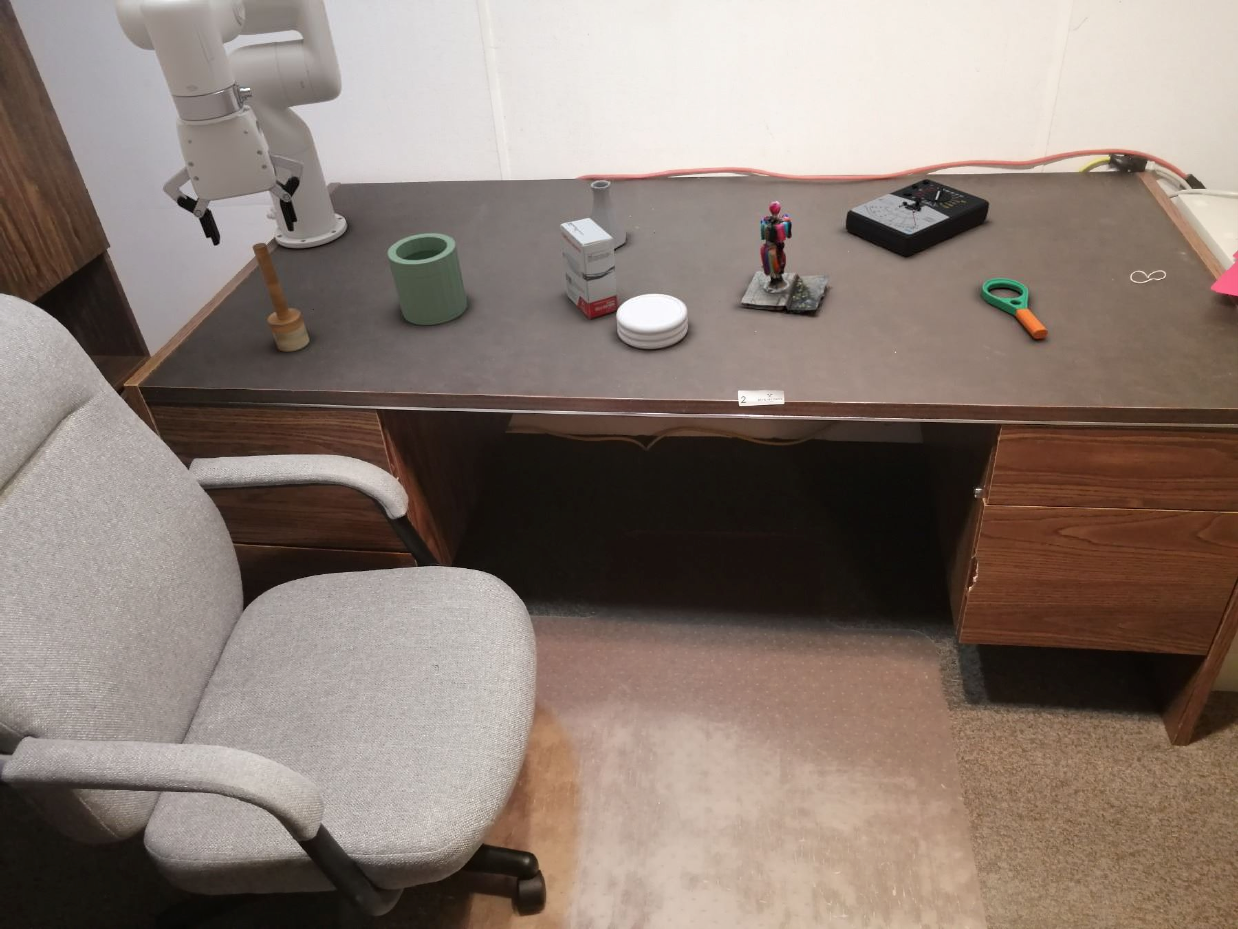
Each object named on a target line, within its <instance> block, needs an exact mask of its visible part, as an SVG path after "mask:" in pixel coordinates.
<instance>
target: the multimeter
mask: <svg viewBox="0 0 1238 929" xmlns="http://www.w3.org/2000/svg"><path fill="white" fill-rule="evenodd" d="M989 209H990V202H989V201H988V200H987V199H985V198H982V197H979V196H976V195H974V194H971V193H968V192H965V191H963V190H960V189H957V188H955V187H951V186H948V185H945V184H944V183H940V182H937V181H935V180H932V179H928V178H925V179H922V180H919V181H917V182H914V183H912V184H910V185H908V186H904V187H903V188H902V187H901V188H900V189H898V190H895V191H893V192H890V193H888V194H885V195H882V196H879V197H877V198H875V199H873V200H872V199H871V200H870V201H867V202H866V203H863V204H860V205H858V206H855V207H853V208H851V209H850V210H848V211H847V212H846V218H845V230H846V231H848V232H849V233H851V234H852V235H856V236H858V237H860V238H863V239H865V240H867V241H869V242H871V243H874V244H876V245H877V246H880V247H883V248H884V249H887V250H889V251H891V252H894V253H897V254H898V255H901V256H903V257H910V256H911V255H914V254H916V253H918V252H920V251H923V250H925V249H927V248H929V247H931V246H933V245H936V244H938V243H941V242H943V241H945V240H947V239H949V238H952V237H953V236H956V235H957V234H961V233H962V232H964V231H967V230H969V229H971V228H974V227H976V226H978V225H980V224H983V223H984V222H985V221H987V217H988V214H989Z"/></svg>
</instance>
